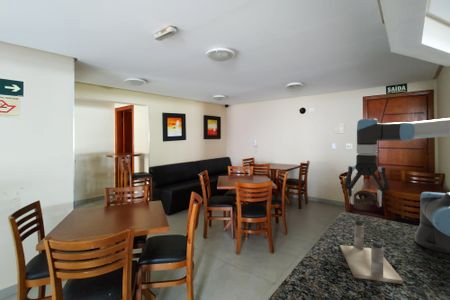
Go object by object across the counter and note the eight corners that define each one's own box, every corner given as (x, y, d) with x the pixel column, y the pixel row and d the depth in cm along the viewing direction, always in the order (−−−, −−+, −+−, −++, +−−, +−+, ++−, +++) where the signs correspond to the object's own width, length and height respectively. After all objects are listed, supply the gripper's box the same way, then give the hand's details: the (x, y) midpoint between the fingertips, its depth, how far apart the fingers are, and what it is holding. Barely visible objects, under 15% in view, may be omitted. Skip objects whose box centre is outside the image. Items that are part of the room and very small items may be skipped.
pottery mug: (386, 211, 90) (379, 195, 89) (362, 219, 93) (355, 204, 91) (371, 196, 102) (365, 182, 100) (351, 204, 104) (344, 190, 103)
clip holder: (376, 251, 91) (377, 222, 90) (403, 285, 70) (404, 248, 69) (339, 247, 95) (339, 219, 94) (354, 278, 74) (354, 243, 73)
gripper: (393, 154, 95) (392, 204, 96) (336, 153, 102) (335, 200, 103) (401, 155, 88) (399, 209, 89) (339, 154, 95) (338, 204, 96)
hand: (365, 204), depth 96 cm, fingers closed on pottery mug, 10 cm apart
